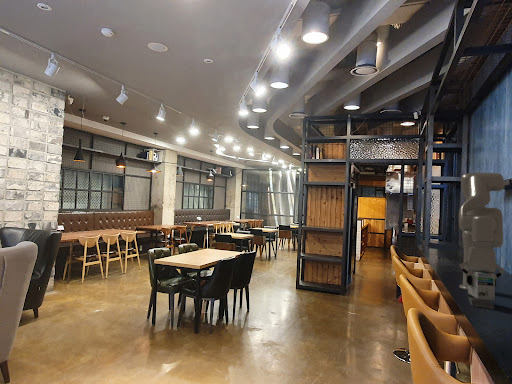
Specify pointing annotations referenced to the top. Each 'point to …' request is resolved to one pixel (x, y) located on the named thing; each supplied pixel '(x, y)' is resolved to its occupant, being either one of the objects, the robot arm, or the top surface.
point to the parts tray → (480, 302)
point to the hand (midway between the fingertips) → (480, 286)
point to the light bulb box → (482, 285)
